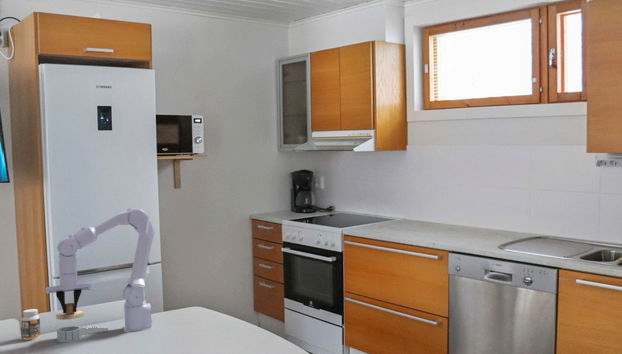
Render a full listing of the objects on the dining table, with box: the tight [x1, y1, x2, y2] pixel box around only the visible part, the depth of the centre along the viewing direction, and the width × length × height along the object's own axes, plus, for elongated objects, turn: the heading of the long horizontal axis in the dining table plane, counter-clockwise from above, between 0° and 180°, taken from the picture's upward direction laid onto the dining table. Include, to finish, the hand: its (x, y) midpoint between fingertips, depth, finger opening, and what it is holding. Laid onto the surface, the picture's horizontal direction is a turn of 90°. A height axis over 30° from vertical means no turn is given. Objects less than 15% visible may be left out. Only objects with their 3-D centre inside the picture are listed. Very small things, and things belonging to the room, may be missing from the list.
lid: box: [55, 302, 85, 321], centre depth 209 cm, size 9×9×4 cm
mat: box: [82, 326, 109, 336], centre depth 219 cm, size 10×10×1 cm
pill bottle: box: [21, 308, 41, 341], centre depth 212 cm, size 6×6×10 cm
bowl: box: [56, 325, 83, 343], centre depth 209 cm, size 8×8×4 cm
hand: (69, 312), depth 209 cm, fingers closed on lid, 3 cm apart
